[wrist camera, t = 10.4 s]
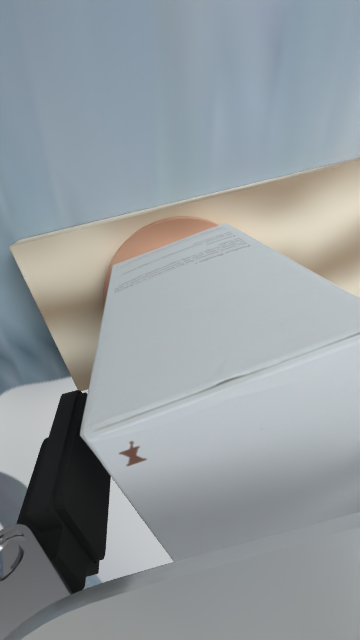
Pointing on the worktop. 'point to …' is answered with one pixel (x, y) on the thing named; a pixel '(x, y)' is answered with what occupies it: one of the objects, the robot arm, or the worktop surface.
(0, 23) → the worktop surface
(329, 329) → the supplement box
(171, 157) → the worktop surface
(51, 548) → the robot arm
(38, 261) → the board
